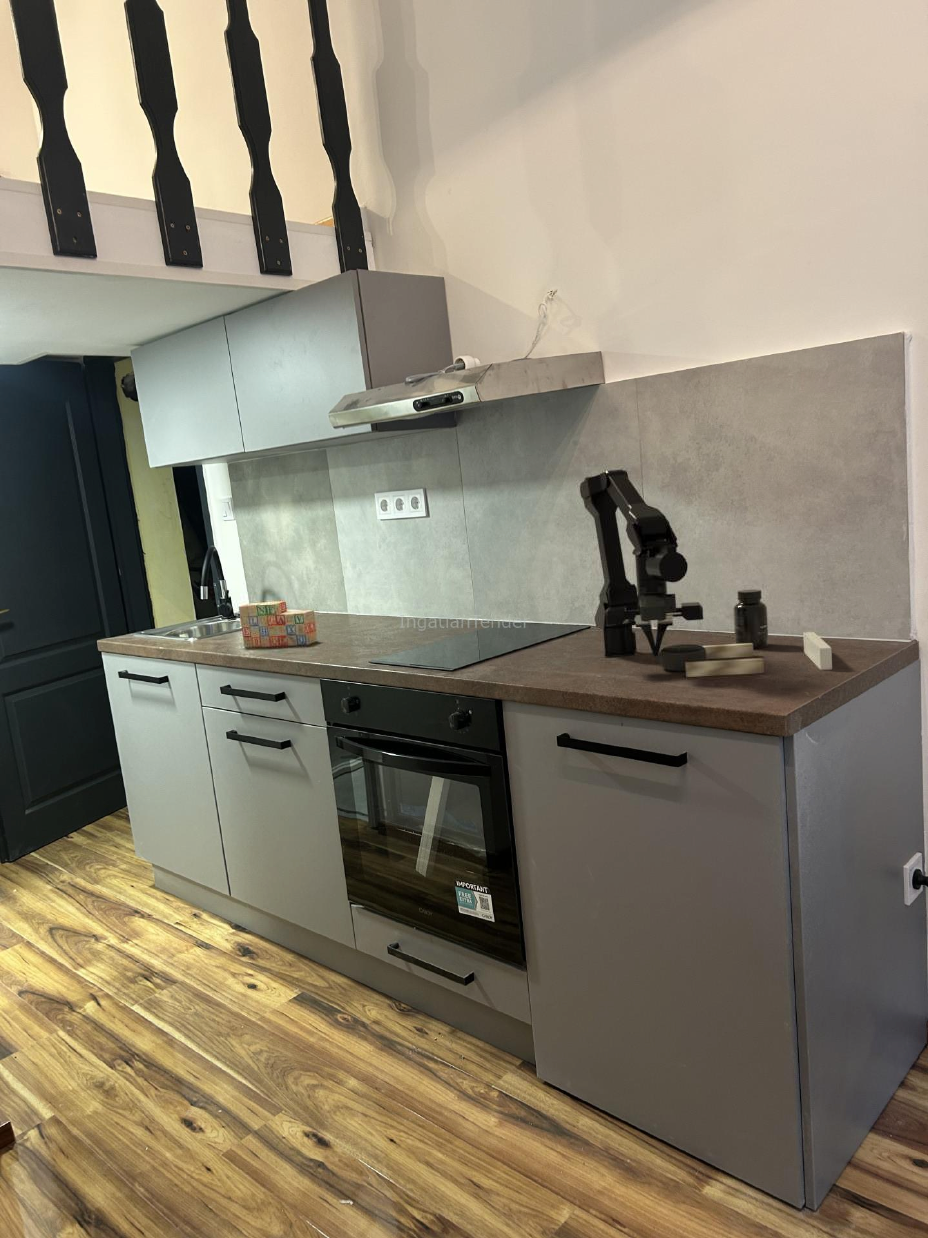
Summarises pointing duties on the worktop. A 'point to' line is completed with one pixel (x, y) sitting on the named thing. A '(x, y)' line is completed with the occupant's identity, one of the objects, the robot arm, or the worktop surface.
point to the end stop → (817, 650)
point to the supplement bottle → (751, 619)
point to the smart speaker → (681, 656)
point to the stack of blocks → (276, 625)
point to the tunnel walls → (726, 661)
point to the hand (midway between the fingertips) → (656, 656)
